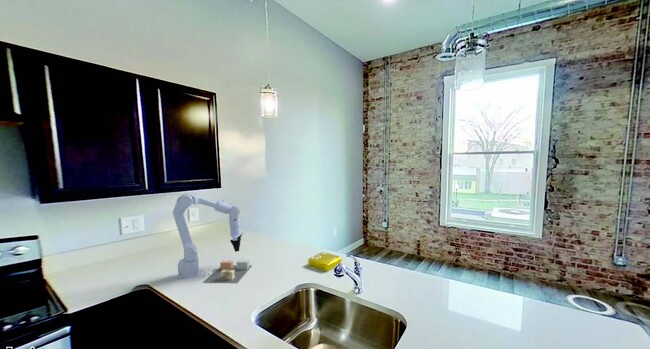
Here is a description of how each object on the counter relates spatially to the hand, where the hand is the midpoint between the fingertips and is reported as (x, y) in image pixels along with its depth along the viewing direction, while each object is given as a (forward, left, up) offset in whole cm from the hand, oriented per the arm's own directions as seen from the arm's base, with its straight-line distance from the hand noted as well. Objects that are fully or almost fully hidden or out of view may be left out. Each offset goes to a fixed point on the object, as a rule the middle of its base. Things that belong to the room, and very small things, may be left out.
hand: (237, 248), depth 150 cm
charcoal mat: (0, -11, -10) cm, 15 cm away
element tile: (+51, +4, -11) cm, 52 cm away
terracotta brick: (-4, -5, -10) cm, 12 cm away
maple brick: (+2, -17, -10) cm, 20 cm away
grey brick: (+5, -4, -10) cm, 12 cm away
